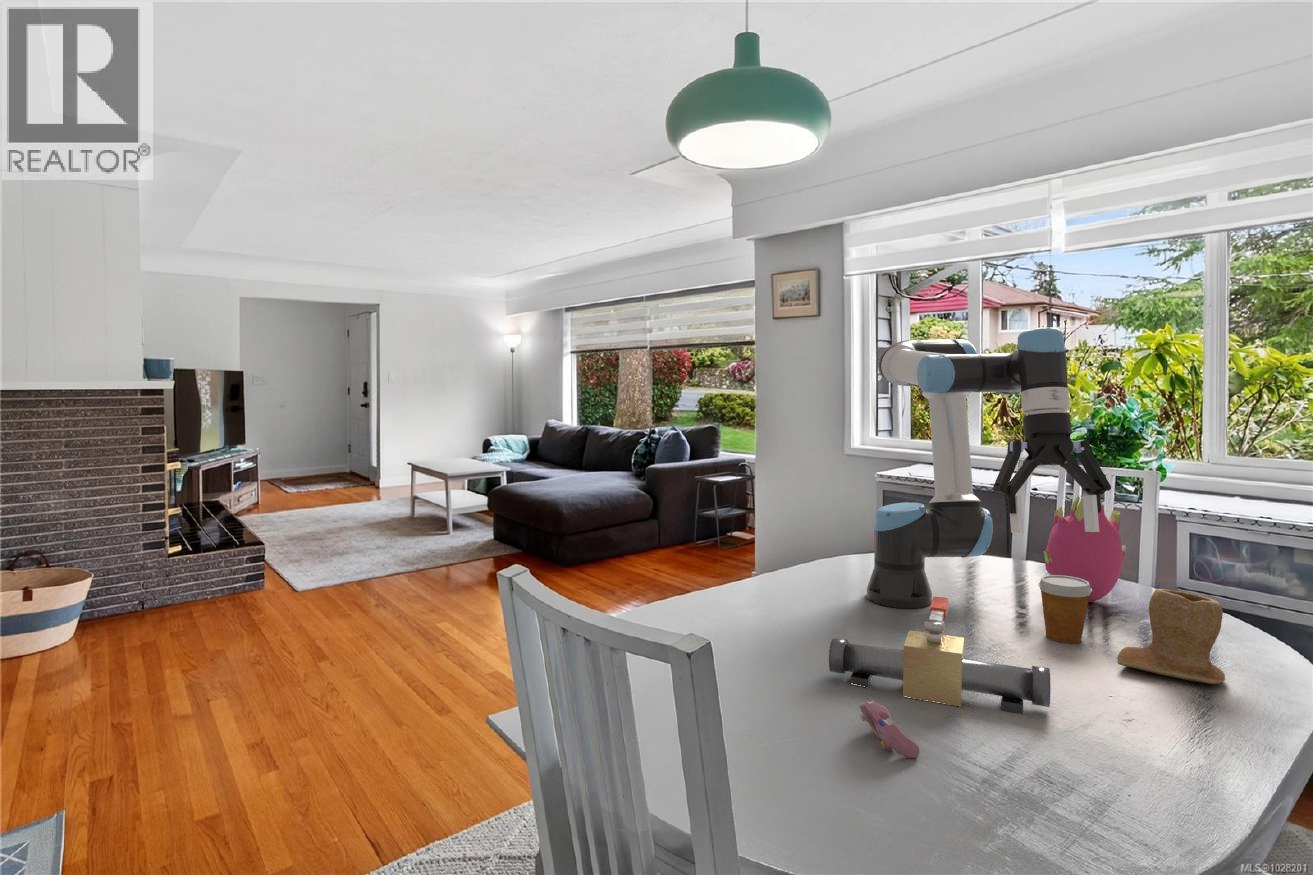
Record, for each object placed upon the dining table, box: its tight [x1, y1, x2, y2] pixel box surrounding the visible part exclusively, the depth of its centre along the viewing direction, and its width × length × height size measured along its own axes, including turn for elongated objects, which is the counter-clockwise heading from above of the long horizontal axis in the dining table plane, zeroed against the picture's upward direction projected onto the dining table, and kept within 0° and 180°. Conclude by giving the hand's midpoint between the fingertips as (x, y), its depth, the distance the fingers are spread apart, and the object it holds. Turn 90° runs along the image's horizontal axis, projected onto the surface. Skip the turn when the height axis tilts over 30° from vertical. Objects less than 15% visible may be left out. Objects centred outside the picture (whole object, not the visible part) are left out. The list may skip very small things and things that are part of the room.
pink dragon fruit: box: [1043, 496, 1127, 603], centre depth 166 cm, size 18×14×30 cm
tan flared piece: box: [1116, 588, 1226, 685], centre depth 126 cm, size 15×12×15 cm
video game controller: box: [859, 699, 920, 759], centre depth 103 cm, size 10×5×7 cm, turn 5°
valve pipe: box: [828, 630, 1051, 715], centre depth 119 cm, size 8×34×11 cm, turn 64°
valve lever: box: [923, 595, 949, 633], centre depth 125 cm, size 16×3×2 cm, turn 154°
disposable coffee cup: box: [1037, 574, 1092, 644], centre depth 144 cm, size 10×10×12 cm
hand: (1054, 532), depth 124 cm, fingers open, 13 cm apart
